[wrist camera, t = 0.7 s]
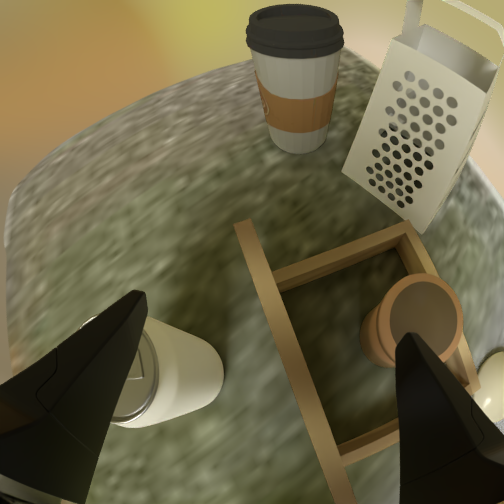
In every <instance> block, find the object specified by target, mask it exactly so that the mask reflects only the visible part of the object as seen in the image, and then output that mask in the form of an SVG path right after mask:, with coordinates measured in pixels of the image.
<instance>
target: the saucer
mask: <svg viewBox="0 0 504 504" xmlns="http://www.w3.org/2000/svg"><path fill="white" fill-rule="evenodd" d="M477 375H478V378H479V382H480V385H481V388H480V389H479V390H478V391H476V392H475V393H474V394H472V398H473V399H474V401H475V402H476V403H477V404H478V406H479V407H480V408H481V409H482V411H483V412H484V413H485V414H486V415H487V416H488V418H489V419H490V420H491V421H492V422H498V421H500V420H502V419H504V351H503V352H498V353H495V354H493V355H491V356H490V357H489V358H487V359H486V360H485V362H484V363H483V364H482V366H481V367H480V369H479V371H478V373H477Z"/></svg>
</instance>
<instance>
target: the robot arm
mask: <svg viewBox="0 0 504 504" xmlns="http://www.w3.org/2000/svg"><path fill="white" fill-rule="evenodd" d="M147 314H148V307H147V299H146V294H145V292H143V291H139V290H132V291H130V292H129V293H128V294H126V295H125V296H123V297H122V298H121V299H119V300H118V301H117V302H115V303H114V304H112V305H111V306H110V307H108V308H107V309H106V310H104V311H103V312H102V313H100V314H99V315H98V316H96V317H95V318H94V319H92V320H91V321H90V322H88V323H87V324H86V325H84V326H83V327H82V328H80V329H79V330H78V331H76V332H75V333H74V334H72V335H71V336H70V337H68V338H67V339H66V340H64V341H63V342H62V343H61V344H59V345H58V346H57V348H54V349H53V350H51V351H50V352H49V353H48V354H46V355H45V356H44V357H42V358H41V359H40V360H38V361H37V362H35V363H34V364H32V365H31V366H29V367H28V368H26V369H25V370H23V371H22V372H20V373H19V374H17V375H15V376H14V377H12V378H11V379H9V380H8V381H6V382H5V383H3V384H1V385H0V504H61V501H62V499H64V500H67V501H70V502H74V503H77V504H85V502H86V499H87V495H88V492H89V488H90V485H91V481H92V478H93V474H94V471H95V468H96V465H97V461H98V457H99V455H100V452H101V449H102V446H103V443H104V440H105V437H106V434H107V431H108V428H109V425H110V422H111V419H112V417H113V414H114V411H115V408H116V405H117V403H118V400H119V397H120V395H121V392H122V389H123V387H124V384H125V382H126V379H127V376H128V374H129V371H130V369H131V366H132V364H133V361H134V359H135V356H136V353H137V349H138V346H139V342H140V339H141V335H142V332H143V328H144V325H145V321H146V318H147ZM395 376H396V397H397V408H398V422H399V440H400V485H401V486H400V501H399V504H504V435H503V433H502V432H501V431H500V430H499V429H498V428H497V427H496V425H495V424H494V423H493V422H492V421H491V420H490V419H489V418H488V416H487V415H486V414H485V413H484V412H483V411H482V409H481V408H480V407H479V406H478V404H477V403H476V402H475V401H474V399H473V398H472V397H471V396H470V394H469V393H468V392H467V391H466V389H465V388H464V387H463V386H462V384H461V383H460V382H459V381H458V380H457V378H456V377H455V376H454V375H453V373H452V372H451V371H450V370H449V369H448V368H447V366H446V365H445V364H444V363H443V362H442V360H441V359H440V358H439V357H438V356H437V355H436V353H435V352H434V351H433V350H432V349H431V348H430V347H429V345H428V344H427V343H426V342H425V341H424V340H423V339H422V338H421V336H420V335H419V334H418V333H416V332H407V333H405V335H404V336H403V337H402V339H401V340H400V341H399V343H398V344H397V346H396V348H395Z"/></svg>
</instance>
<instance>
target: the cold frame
mask: <svg viewBox="0 0 504 504" xmlns="http://www.w3.org/2000/svg"><path fill="white" fill-rule="evenodd" d="M233 225H234V228H235V231H236V234H237V237H238V240H239V242H240V245H241V248H242V251H243V254H244V257H245V259H246V262H247V265H248V268H249V271H250V273H251V276H252V279H253V282H254V285H255V287H256V290H257V293H258V296H259V299H260V301H261V304H262V307H263V310H264V313H265V315H266V318H267V321H268V324H269V326H270V329H271V332H272V335H273V337H274V340H275V343H276V346H277V348H278V351H279V354H280V357H281V359H282V362H283V365H284V368H285V370H286V373H287V376H288V379H289V381H290V384H291V387H292V390H293V392H294V395H295V398H296V400H297V403H298V406H299V409H300V411H301V414H302V417H303V419H304V422H305V425H306V427H307V430H308V433H309V436H310V438H311V441H312V444H313V446H314V449H315V452H316V454H317V457H318V460H319V462H320V465H321V468H322V470H323V473H324V476H325V478H326V481H327V483H328V486H329V489H330V491H331V494H332V497H333V499H334V502H335V504H357V502H356V499H355V496H354V493H353V490H352V487H351V485H350V482H349V479H348V476H347V473H346V471H345V468H344V467H345V466H348V465H350V464H352V463H355V462H357V461H360V460H362V459H364V458H366V457H368V456H371V455H373V454H375V453H377V452H379V451H381V450H383V449H385V448H387V447H389V446H391V445H393V444H395V443H397V442H399V441H400V440H399V422H398V418H396V419H394V420H392V421H390V422H388V423H386V424H384V425H382V426H380V427H378V428H376V429H374V430H372V431H370V432H367V433H365V434H363V435H361V436H359V437H356V438H354V439H352V440H349V441H347V442H345V443H342V444H340V445H337V446H336V443H335V440H334V438H333V435H332V432H331V429H330V427H329V424H328V421H327V418H326V416H325V413H324V410H323V408H322V405H321V402H320V399H319V397H318V394H317V391H316V389H315V386H314V383H313V381H312V378H311V375H310V372H309V370H308V367H307V364H306V362H305V359H304V356H303V354H302V351H301V348H300V346H299V343H298V341H297V338H296V335H295V333H294V330H293V327H292V325H291V322H290V319H289V317H288V314H287V311H286V309H285V306H284V304H283V301H282V298H281V296H280V293H282V292H284V291H287V290H290V289H292V288H295V287H298V286H300V285H303V284H305V283H308V282H311V281H313V280H316V279H318V278H321V277H324V276H326V275H329V274H331V273H334V272H336V271H339V270H341V269H344V268H346V267H349V266H351V265H354V264H356V263H358V262H361V261H363V260H366V259H368V258H371V257H373V256H375V255H378V254H380V253H382V252H385V251H387V250H389V249H392V248H394V247H395V248H396V250H397V252H398V254H399V256H400V258H401V260H402V262H403V264H404V266H405V268H406V270H407V272H408V274H409V275H412V274H417V273H425V274H431V275H434V276H436V277H438V278H440V277H439V275H438V273H437V271H436V269H435V267H434V265H433V263H432V261H431V259H430V257H429V255H428V253H427V251H426V249H425V247H424V246H423V244H422V242H421V240H420V238H419V236H418V235H417V233H416V231H415V229H414V227H413V226H412V224H411V222H410V220H409V219H408V220H405V221H403V222H400V223H398V224H395V225H393V226H390V227H388V228H385V229H383V230H380V231H378V232H375V233H373V234H370V235H367V236H365V237H362V238H360V239H357V240H355V241H352V242H350V243H347V244H344V245H342V246H339V247H337V248H334V249H331V250H329V251H326V252H323V253H321V254H318V255H315V256H313V257H310V258H308V259H305V260H302V261H300V262H297V263H294V264H291V265H289V266H286V267H283V268H281V269H278V270H275V271H272V272H271V270H270V267H269V265H268V262H267V259H266V257H265V254H264V252H263V249H262V246H261V244H260V241H259V239H258V236H257V234H256V231H255V228H254V226H253V223H252V221H251V218H249V219H246V220H244V221H241V222H238V223H235V224H233ZM445 363H446V365H447V368H448V369H449V370H450V371H451V372H452V373H453V375H454V376H455V377H456V378H457V380H458V381H459V382H460V383H461V384H462V386H463V387H464V388H465V389H466V391H467V392H468V393H469V394H470V396H471V395H472V394H474V393H475V392H476V391H478V390H479V389H480V388H481V385H480V382H479V378H478V375H477V372H476V368H475V365H474V362H473V359H472V356H471V353H470V350H469V347H468V345H467V342H466V339H465V336H464V334H463V331H462V335H461V338H460V341H459V344H458V346H457V348H456V349H455V351H454V352H453V354H452V355H451V356H450V357H449V358H448V359H447V360H446V361H445Z"/></svg>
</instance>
